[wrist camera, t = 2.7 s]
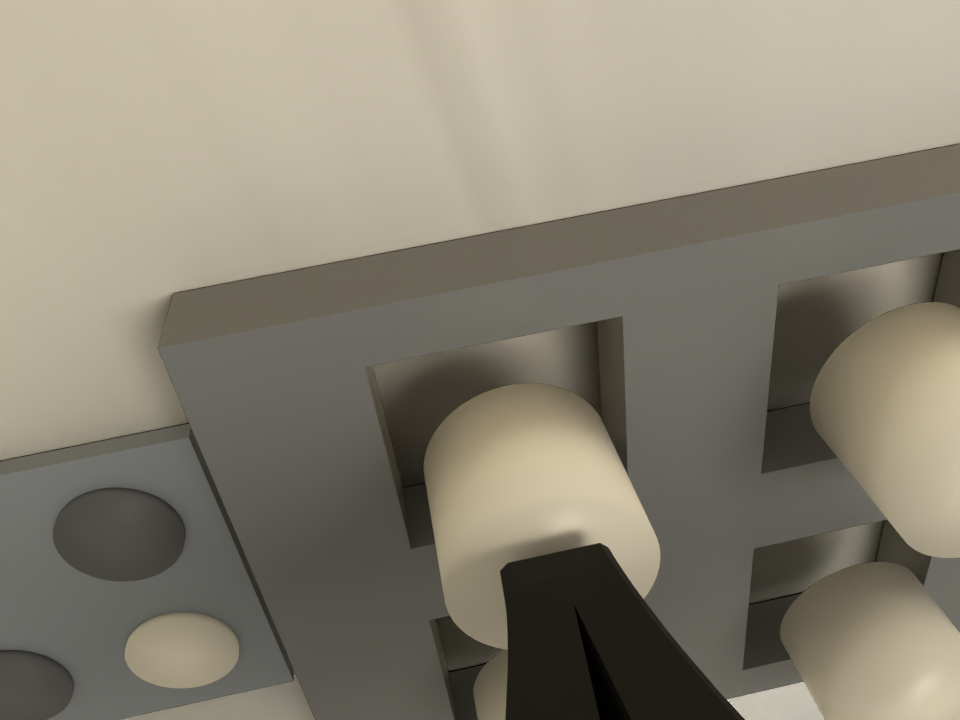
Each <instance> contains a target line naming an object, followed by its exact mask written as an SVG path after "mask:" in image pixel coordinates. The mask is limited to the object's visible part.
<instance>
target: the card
mask: <svg viewBox="0 0 960 720" xmlns="http://www.w3.org/2000/svg"><path fill="white" fill-rule="evenodd" d="M291 681H294V669H293V666H292V664H291V662H290V659H289V657H288V655H287V652H286V650H285V647H284V645H283V643H282V640H281V638H280V636H279V633H278V631H277V629H276V626H275V624H274V622H273V619H272V617H271V614H270V612H269V610H268V607H267V605H266V603H265V600H264V598H263V596H262V593H261V591H260V589H259V586H258V584H257V581H256V579H255V577H254V574H253V572H252V570H251V567H250V565H249V563H248V560H247V558H246V556H245V553H244V551H243V548H242V546H241V544H240V541H239V539H238V537H237V534H236V532H235V530H234V527H233V525H232V523H231V520H230V518H229V515H228V513H227V511H226V508H225V506H224V504H223V501H222V499H221V497H220V494H219V492H218V490H217V487H216V485H215V483H214V480H213V478H212V475H211V473H210V471H209V468H208V466H207V464H206V461H205V459H204V457H203V454H202V452H201V450H200V447H199V445H198V442H197V440H196V438H195V435H194V433H193V431H192V428H191V426H190V424H184V425H179V426H175V427H170V428H165V429H160V430H155V431H150V432H145V433H140V434H135V435H130V436H125V437H120V438H115V439H110V440H105V441H100V442H95V443H90V444H85V445H80V446H75V447H70V448H65V449H60V450H55V451H50V452H45V453H40V454H35V455H30V456H25V457H20V458H15V459H10V460H5V461H0V720H120V719H124V718H129V717H133V716H138V715H142V714H147V713H151V712H156V711H160V710H165V709H169V708H174V707H178V706H183V705H187V704H192V703H196V702H201V701H205V700H210V699H214V698H219V697H223V696H228V695H232V694H237V693H241V692H246V691H250V690H255V689H259V688H264V687H268V686H273V685H277V684H282V683H286V682H291Z"/></svg>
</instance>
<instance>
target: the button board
mask: <svg viewBox="0 0 960 720" xmlns="http://www.w3.org/2000/svg"><path fill="white" fill-rule="evenodd" d="M942 252H944V254H943V259H942V263H941V268H940V272H939V277H938V281H937V286H936V291H935V295H934V300H933V302H939V303H947V304H950V305H954V306H957V307H959V308H960V144H957V145H952V146H946V147H941V148H936V149H931V150H925V151H920V152H915V153H910V154H904V155H899V156H894V157H889V158H883V159H878V160H873V161H868V162H862V163H857V164H852V165H847V166H841V167H836V168H831V169H826V170H820V171H815V172H810V173H805V174H799V175H794V176H789V177H784V178H778V179H773V180H768V181H763V182H757V183H752V184H747V185H742V186H736V187H731V188H726V189H720V190H715V191H710V192H705V193H699V194H694V195H689V196H684V197H678V198H673V199H668V200H663V201H657V202H652V203H647V204H642V205H636V206H631V207H626V208H621V209H615V210H610V211H605V212H600V213H594V214H589V215H584V216H579V217H573V218H568V219H563V220H558V221H552V222H547V223H542V224H537V225H531V226H526V227H521V228H516V229H510V230H505V231H500V232H494V233H489V234H484V235H479V236H473V237H468V238H463V239H458V240H452V241H447V242H442V243H437V244H431V245H426V246H421V247H416V248H410V249H405V250H400V251H395V252H389V253H384V254H379V255H374V256H368V257H363V258H358V259H353V260H347V261H342V262H337V263H332V264H326V265H321V266H316V267H311V268H305V269H300V270H295V271H290V272H284V273H279V274H274V275H269V276H263V277H258V278H253V279H247V280H242V281H237V282H232V283H226V284H221V285H216V286H211V287H205V288H200V289H195V290H190V291H184V292H179V293H174V294H173V297H172V301H171V304H170V308H169V311H168V314H167V318H166V321H165V325H164V328H163V332H162V335H161V339H160V342H159V345H158V351H159V353H160V355H161V358H162V360H163V362H164V365H165V367H166V369H167V372H168V374H169V376H170V379H171V381H172V384H173V386H174V388H175V391H176V393H177V395H178V398H179V400H180V402H181V405H182V407H183V409H184V412H185V414H186V417H187V419H188V421H189V424H190V426H191V428H192V431H193V433H194V435H195V438H196V440H197V442H198V445H199V447H200V450H201V452H202V454H203V457H204V459H205V461H206V464H207V466H208V468H209V471H210V473H211V475H212V478H213V480H214V483H215V485H216V487H217V490H218V492H219V494H220V497H221V499H222V501H223V504H224V506H225V508H226V511H227V513H228V515H229V518H230V520H231V523H232V525H233V527H234V530H235V532H236V534H237V537H238V539H239V541H240V544H241V546H242V548H243V551H244V553H245V556H246V558H247V560H248V563H249V565H250V567H251V570H252V572H253V574H254V577H255V579H256V581H257V584H258V586H259V589H260V591H261V593H262V596H263V598H264V600H265V603H266V605H267V607H268V610H269V612H270V614H271V617H272V619H273V622H274V624H275V626H276V629H277V631H278V633H279V636H280V638H281V640H282V643H283V645H284V647H285V650H286V652H287V655H288V657H289V659H290V662H291V664H292V666H293V669H294V671H295V673H296V676H297V678H298V680H299V683H300V685H301V688H302V690H303V692H304V695H305V697H306V699H307V702H308V704H309V706H310V709H311V711H312V713H313V716H314V718H315V720H478V718H477V713H476V707H475V701H474V694H473V689H474V684H475V680H476V678H477V676H478V674H479V672H480V671H481V670H482V668H483V667H484V666H485V665H481V666H477V667H472V668H468V669H463V670H459V671H455V672H450V673H449V672H448V668H447V664H446V660H445V656H444V652H443V648H442V644H441V640H440V636H439V632H438V628H437V624H436V620H435V619H437V618H442V617H446V616H450V615H449V613H448V610H447V607H446V604H445V600H444V593H443V587H442V581H441V575H440V569H439V563H438V557H437V551H436V544H435V538H434V532H433V526H432V520H431V514H430V508H429V502H428V495H427V489H426V483H425V484H420V485H416V486H411V487H406V488H403V486H402V482H401V478H400V474H399V470H398V465H397V461H396V457H395V453H394V449H393V445H392V441H391V437H390V433H389V429H388V425H387V421H386V417H385V413H384V409H383V405H382V401H381V397H380V392H379V388H378V384H377V380H376V376H375V372H374V368H373V366H374V365H379V364H384V363H389V362H395V361H400V360H405V359H410V358H415V357H420V356H425V355H430V354H435V353H440V352H445V351H450V350H455V349H460V348H465V347H470V346H475V345H480V344H485V343H490V342H495V341H500V340H505V339H510V338H515V337H520V336H525V335H530V334H535V333H540V332H545V331H550V330H555V329H560V328H565V327H570V326H575V325H580V324H585V323H591V322H596V321H597V336H598V355H599V374H600V393H601V412H602V421H603V423H604V426H605V428H606V430H607V432H608V434H609V436H610V438H611V441H612V443H613V445H614V447H615V449H616V451H617V453H618V455H619V458H620V460H621V462H622V464H623V466H624V468H625V470H626V473H627V475H628V477H629V479H630V481H631V483H632V485H633V488H634V490H635V492H636V494H637V496H638V498H639V500H640V503H641V505H642V507H643V509H644V511H645V513H646V515H647V517H648V520H649V522H650V524H651V526H652V528H653V530H654V532H655V535H656V537H657V540H658V543H659V546H660V556H661V557H660V567H659V570H658V574H657V577H656V579H655V582H654V584H653V586H652V588H651V589H650V591H649V592H648V594H647V595H646V597H645V598H644V601H645V602H646V603H647V605H648V606H649V607H650V608H651V610H652V611H653V612H654V614H655V615H656V616H657V618H658V619H659V620H660V621H661V623H662V624H663V625H664V627H665V628H666V629H667V630H668V632H669V633H670V634H671V635H672V637H673V638H674V639H675V640H676V642H677V643H678V644H679V645H680V646H681V648H682V649H683V650H684V651H685V652H686V654H687V655H688V656H689V657H690V658H691V659H692V661H693V662H694V663H695V664H696V665H697V666H698V668H699V669H700V670H701V671H702V672H703V673H704V675H705V676H706V677H707V678H708V679H709V680H710V682H711V683H712V684H713V685H714V686H715V687H716V688H717V690H718V691H719V692H720V693H721V694H722V695H723V696H724V697H725V699H730V698H735V697H739V696H743V695H747V694H752V693H756V692H760V691H765V690H769V689H773V688H778V687H782V686H786V685H791V684H795V683H799V682H804V681H803V679H802V677H801V676H800V674H799V672H798V670H797V669H796V667H795V665H794V663H793V661H792V660H791V658H790V656H789V654H788V652H787V651H786V649H785V647H784V645H783V643H782V641H781V637H780V627H781V622H782V620H783V618H784V615H785V614H786V612H787V610H788V609H789V607H790V606H791V605H792V603H793V602H794V601H795V600H796V599H797V598H798V597H799V596H800V595H801V594H797V595H793V596H788V597H784V598H780V599H775V600H771V601H766V602H762V603H757V604H753V605H749V596H750V585H751V575H752V564H753V554H754V549H755V548H760V547H764V546H769V545H773V544H778V543H782V542H787V541H792V540H796V539H801V538H805V537H810V536H814V535H819V534H823V533H828V532H832V531H837V530H842V529H846V528H851V527H855V526H860V525H864V524H869V523H873V522H878V521H882V520H885V522H884V526H883V531H882V535H881V540H880V544H879V549H878V553H877V558H876V562H890V563H896V564H899V565H902V566H904V567H906V568H908V569H909V570H910V571H912V573H913V574H914V575H915V576H916V577H917V579H918V580H919V581H920V583H921V584H922V585H923V586H924V588H925V589H926V590H927V591H928V593H929V594H930V595H931V597H932V598H933V599H934V600H935V602H936V603H937V604H938V606H939V607H940V608H941V609H942V611H943V612H944V613H945V615H946V616H947V617H948V618H949V620H950V621H951V622H952V624H953V625H954V626H955V627H956V629H957V630H958V631H959V633H960V557H959V558H939V557H932V556H929V555H925V554H922V553H920V552H918V551H916V550H914V549H913V548H912V547H910V546H909V545H908V544H907V543H906V542H905V541H904V539H903V538H902V537H901V536H900V534H899V533H898V532H897V531H896V529H895V528H894V527H893V526H892V524H891V523H890V522H889V521H888V520H887V518H886V517H885V516H884V515H883V513H882V512H881V511H880V510H879V508H878V507H877V506H876V505H875V503H874V502H873V501H872V500H871V498H870V497H869V496H868V495H867V493H866V492H865V491H864V490H863V488H862V487H861V486H860V485H859V483H858V482H857V481H856V480H855V478H854V477H853V476H852V475H851V473H850V472H849V471H848V470H847V468H846V467H845V466H844V465H843V463H842V462H841V461H840V460H839V458H838V457H837V456H836V455H835V454H834V452H833V451H832V450H831V449H830V447H829V446H828V445H827V444H826V442H825V441H824V440H823V439H822V437H821V436H820V435H819V434H818V432H817V431H816V429H815V427H814V425H813V423H812V420H811V415H810V403H808V404H803V405H798V406H793V407H789V408H784V409H779V410H774V411H769V412H767V405H768V395H769V384H770V373H771V363H772V352H773V342H774V331H775V320H776V310H777V299H778V289H779V285H781V284H787V283H792V282H797V281H802V280H807V279H812V278H817V277H822V276H827V275H832V274H837V273H842V272H847V271H852V270H857V269H862V268H867V267H872V266H877V265H882V264H887V263H892V262H897V261H902V260H907V259H912V258H917V257H922V256H927V255H932V254H937V253H942Z"/></svg>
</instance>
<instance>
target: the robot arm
mask: <svg viewBox="0 0 960 720" xmlns="http://www.w3.org/2000/svg"><path fill="white" fill-rule="evenodd" d="M500 575H501V581H502V587H503V593H504V599H505V605H506V615H507V633H508V673H507V694H506V715H505V720H745V719H744V718H743V717H742V716H741V715H740V714H739V713H738V712H737V711H736V710H735V708H734V707H733V706H732V705H731V704H730V703H729V702H728V701H727V700H726V699H725V697H724V696H723V695H722V694H721V693H720V692H719V691H718V690H717V688H716V687H715V686H714V685H713V684H712V683H711V682H710V680H709V679H708V678H707V677H706V676H705V675H704V673H703V672H702V671H701V670H700V669H699V668H698V666H697V665H696V664H695V663H694V662H693V661H692V659H691V658H690V657H689V656H688V655H687V654H686V652H685V651H684V650H683V649H682V648H681V646H680V645H679V644H678V643H677V642H676V640H675V639H674V638H673V637H672V635H671V634H670V633H669V632H668V630H667V629H666V628H665V627H664V625H663V624H662V623H661V621H660V620H659V619H658V618H657V616H656V615H655V614H654V612H653V611H652V610H651V608H650V607H649V606H648V605H647V603H646V602H645V601H644V599H643V598H642V596H641V595H640V594H639V592H638V591H637V590H636V588H635V587H634V585H633V584H632V583H631V581H630V580H629V578H628V577H627V575H626V574H625V572H624V571H623V569H622V568H621V566H620V565H619V563H618V562H617V560H616V559H615V557H614V556H613V554H612V552H611V551H610V549H609V547H607V546H605V545H603V544H601V543H597V544H592V545H587V546H583V547H578V548H574V549H569V550H564V551H560V552H555V553H551V554H546V555H542V556H537V557H532V558H528V559H523V560H519V561H514V562H510V563H507V564H506V565H505V566H504V567H503V568H502V569H501V570H500Z"/></svg>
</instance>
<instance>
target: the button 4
mask: <svg viewBox="0 0 960 720" xmlns="http://www.w3.org/2000/svg"><path fill="white" fill-rule="evenodd" d="M810 415H811V420H812V423H813V425H814V427H815V429H816V431H817V432H818V434H819V435H820V436H821V437H822V439H823V440H824V441H825V442H826V444H827V445H828V446H829V447H830V449H831V450H832V451H833V452H834V454H835V455H836V456H837V457H838V458H839V460H840V461H841V462H842V463H843V465H844V466H845V467H846V468H847V470H848V471H849V472H850V473H851V475H852V476H853V477H854V478H855V480H856V481H857V482H858V483H859V485H860V486H861V487H862V488H863V490H864V491H865V492H866V493H867V495H868V496H869V497H870V498H871V500H872V501H873V502H874V503H875V505H876V506H877V507H878V508H879V510H880V511H881V512H882V513H883V515H884V516H885V517H886V518H887V520H888V521H889V522H890V523H891V524H892V526H893V527H894V528H895V529H896V531H897V532H898V533H899V534H900V536H901V537H902V538H903V539H904V541H905V542H906V543H907V544H908V545H909V546H910V547H912V548H913V549H914V550H916V551H918V552H920V553H922V554H925V555H929V556H932V557H939V558H959V557H960V308H959V307H957V306H954V305H950V304H947V303H939V302H923V303H916V304H911V305H907V306H903V307H899V308H897V309H894V310H891V311H888V312H886V313H884V314H882V315H880V316H878V317H876V318H874V319H873V320H871V321H869V322H867V323H866V324H864V325H863V326H861V327H860V328H859V329H857V330H856V331H855V332H853V333H852V334H851V335H850V336H849V337H847V338H846V339H845V340H844V341H843V342H842V343H841V344H840V345H839V346H838V347H837V348H836V349H835V350H834V352H833V353H832V354H831V355H830V357H829V358H828V359H827V361H826V362H825V364H824V365H823V367H822V368H821V370H820V372H819V374H818V376H817V378H816V380H815V383H814V386H813V389H812V393H811V398H810Z"/></svg>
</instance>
